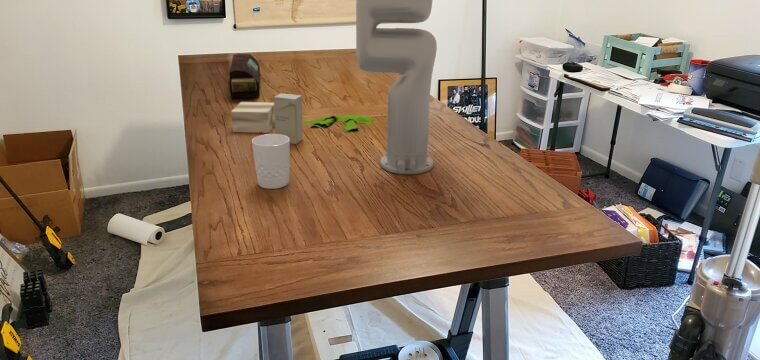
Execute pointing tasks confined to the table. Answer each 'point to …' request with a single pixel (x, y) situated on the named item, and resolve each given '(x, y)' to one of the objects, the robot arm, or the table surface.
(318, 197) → the table surface
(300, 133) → the skincare box
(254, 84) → the packaged item
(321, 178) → the table surface
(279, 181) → the white cup
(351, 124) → the cloth
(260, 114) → the maple block
